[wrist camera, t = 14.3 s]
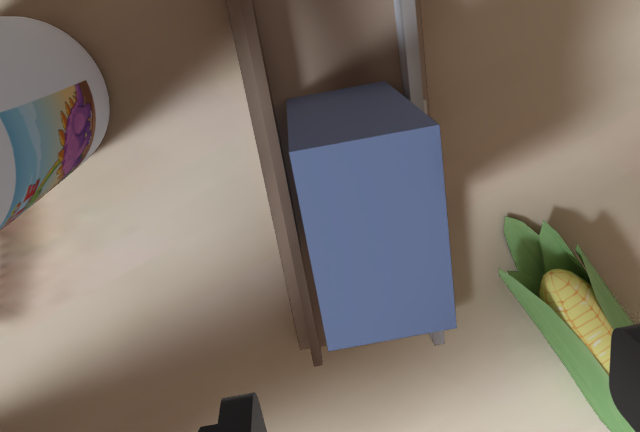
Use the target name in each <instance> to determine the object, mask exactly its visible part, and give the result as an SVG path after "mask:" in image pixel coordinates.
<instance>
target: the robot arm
mask: <svg viewBox="0 0 640 432" xmlns="http://www.w3.org/2000/svg"><path fill="white" fill-rule="evenodd" d="M609 389H610V393H611V397H612V399H613V402H614V404H615V406H616V408H617V409H618V411H619V412H620V414H621V415H622V416H623V417H624V418H625V420H626V421H627V422H628V423H629V424H630V426H631V427H632V428H633V429H634V430H635V432H640V324H635V325H630V326H624V327H619V328H615V329H614V330H613V332H612V335H611V351H610V370H609ZM198 432H267V431H266V427H265V423H264V419H263V415H262V411H261V408H260V404H259V400H258V397H257V394H256V393H255V392H254V393H249V394H243V395H238V396H232V397H227V398H223V399H222V400H221V405H220V412H219V419H218V424H215V425H209V426H204V427H201V428H200V429H199V431H198Z"/></svg>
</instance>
